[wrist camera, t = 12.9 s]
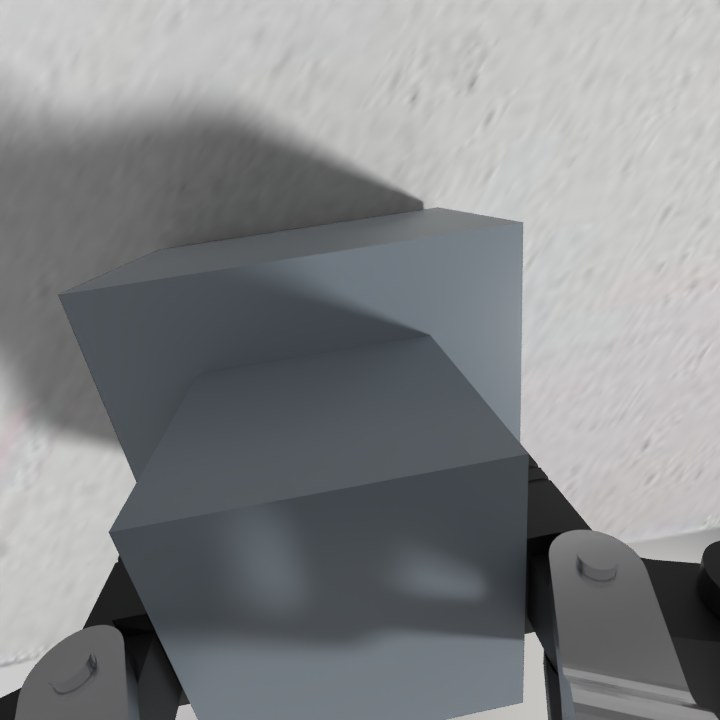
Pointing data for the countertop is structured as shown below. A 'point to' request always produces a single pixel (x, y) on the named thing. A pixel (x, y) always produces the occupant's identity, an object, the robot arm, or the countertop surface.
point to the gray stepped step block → (324, 463)
